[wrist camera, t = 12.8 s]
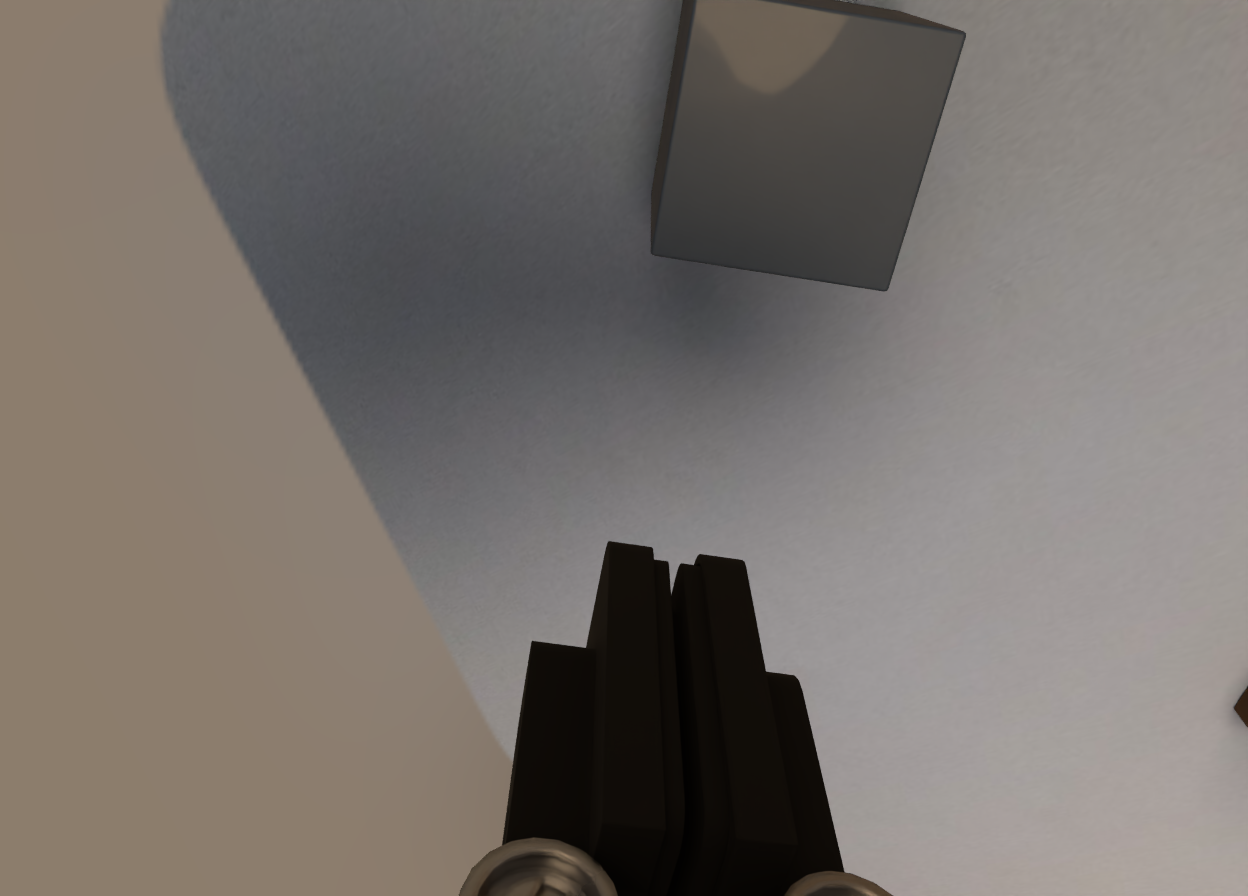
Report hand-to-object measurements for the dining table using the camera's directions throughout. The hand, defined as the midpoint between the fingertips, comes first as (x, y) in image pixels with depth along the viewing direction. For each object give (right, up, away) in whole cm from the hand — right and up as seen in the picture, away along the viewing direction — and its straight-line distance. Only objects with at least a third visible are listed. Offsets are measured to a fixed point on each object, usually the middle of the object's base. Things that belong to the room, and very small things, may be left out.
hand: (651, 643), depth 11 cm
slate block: (+3, +11, +11) cm, 15 cm away
